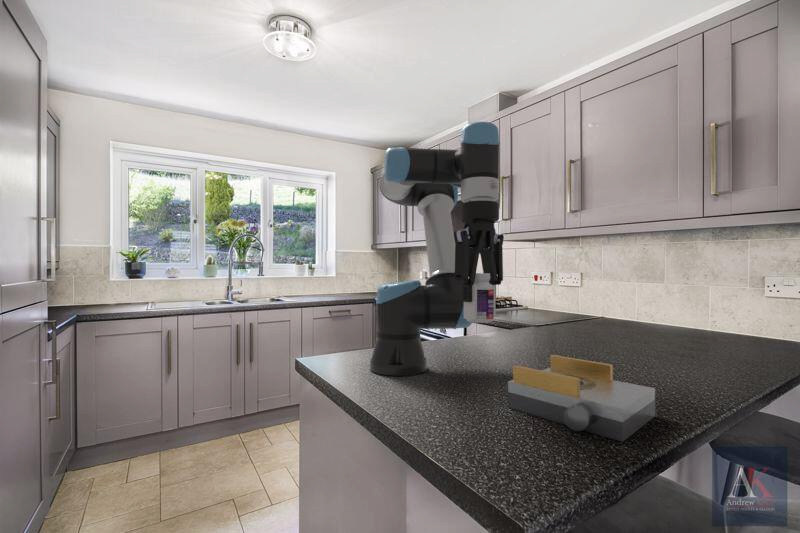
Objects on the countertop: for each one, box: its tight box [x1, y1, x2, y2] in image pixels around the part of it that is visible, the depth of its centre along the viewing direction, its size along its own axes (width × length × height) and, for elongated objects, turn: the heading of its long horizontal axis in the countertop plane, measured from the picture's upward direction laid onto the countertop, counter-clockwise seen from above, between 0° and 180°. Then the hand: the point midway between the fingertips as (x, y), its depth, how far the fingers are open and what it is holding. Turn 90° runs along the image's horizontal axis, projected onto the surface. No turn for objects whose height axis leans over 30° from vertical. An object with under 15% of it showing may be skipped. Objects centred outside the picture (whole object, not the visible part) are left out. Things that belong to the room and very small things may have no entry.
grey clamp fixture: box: [507, 354, 656, 443], centre depth 71 cm, size 20×19×8 cm
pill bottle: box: [467, 272, 495, 324], centre depth 78 cm, size 5×5×10 cm
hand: (479, 317), depth 78 cm, fingers closed on pill bottle, 5 cm apart
